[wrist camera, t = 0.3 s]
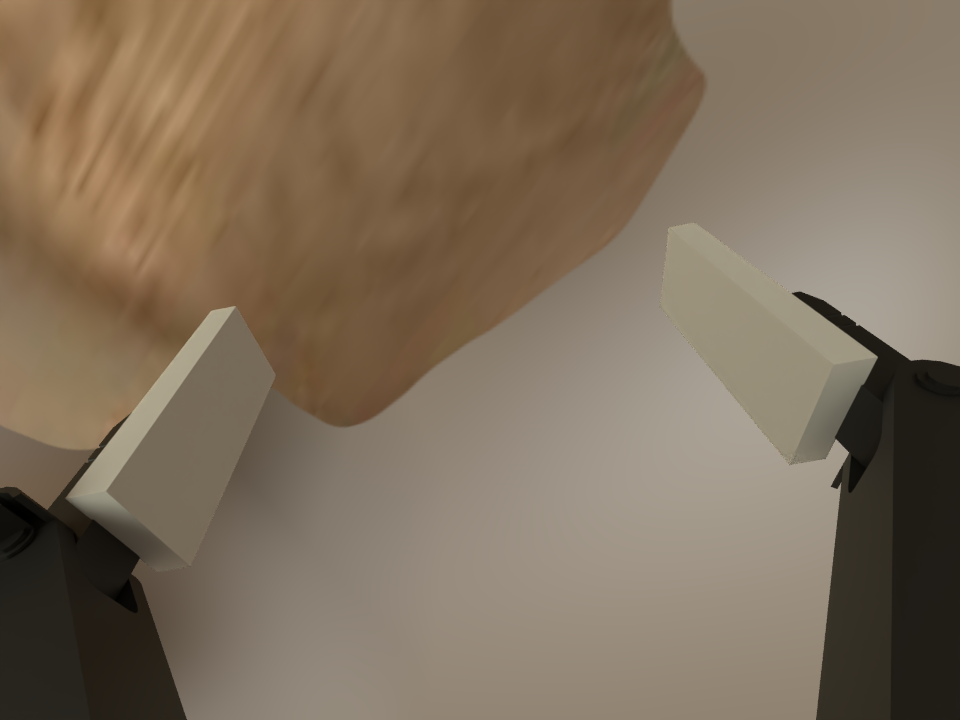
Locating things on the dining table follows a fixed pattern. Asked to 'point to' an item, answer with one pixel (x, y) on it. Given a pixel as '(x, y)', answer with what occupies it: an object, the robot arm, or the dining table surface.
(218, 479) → the robot arm
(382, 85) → the dining table surface
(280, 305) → the dining table surface
